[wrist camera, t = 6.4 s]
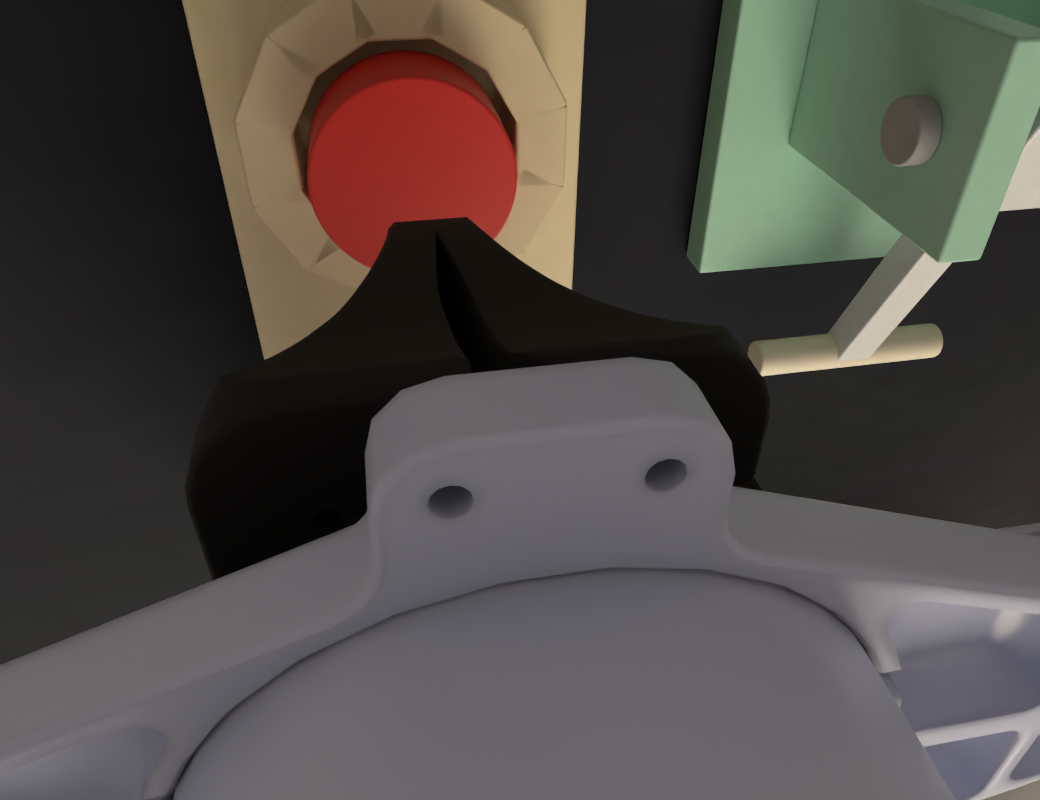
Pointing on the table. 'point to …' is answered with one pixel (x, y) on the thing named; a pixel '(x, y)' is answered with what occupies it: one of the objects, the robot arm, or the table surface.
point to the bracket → (862, 128)
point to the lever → (890, 300)
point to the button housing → (306, 76)
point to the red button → (406, 151)
